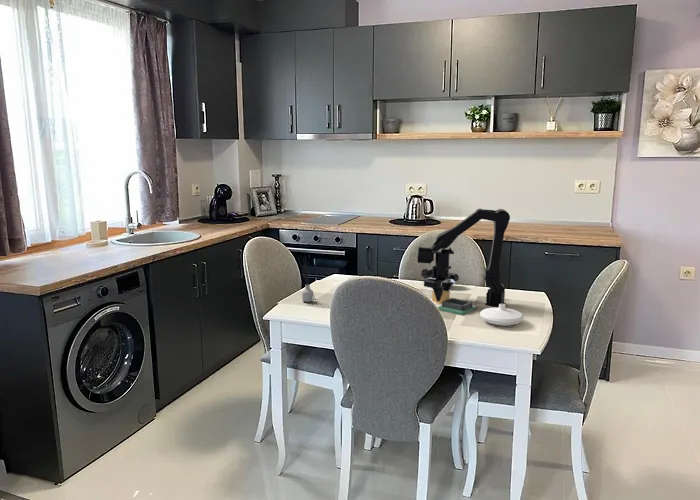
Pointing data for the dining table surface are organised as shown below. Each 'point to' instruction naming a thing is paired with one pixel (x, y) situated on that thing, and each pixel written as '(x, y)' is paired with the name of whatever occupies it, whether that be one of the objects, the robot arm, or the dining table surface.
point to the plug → (444, 296)
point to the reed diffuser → (307, 287)
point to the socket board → (457, 306)
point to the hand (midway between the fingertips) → (440, 300)
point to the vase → (501, 316)
